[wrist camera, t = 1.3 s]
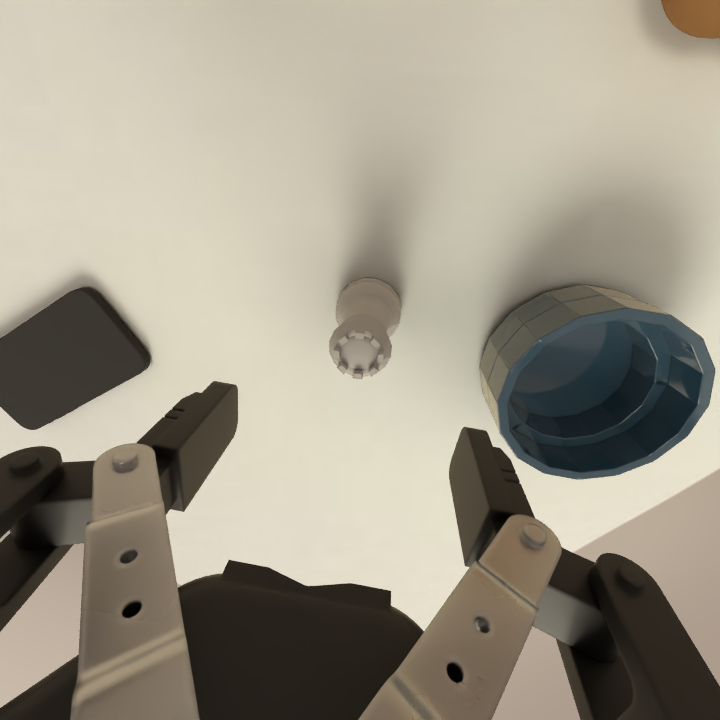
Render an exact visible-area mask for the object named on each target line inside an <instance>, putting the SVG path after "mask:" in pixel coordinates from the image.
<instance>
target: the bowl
mask: <svg viewBox="0 0 720 720" xmlns="http://www.w3.org/2000/svg"><path fill="white" fill-rule="evenodd" d="M480 374H481V382H482V391H483V395H484V397H485V399H486V402H487V404H488V406H489V409H490V411H491V413H492V416H493V418H494V420H495V423H496V425H497V427H498V430H499V432H500V434H501V436H502V437H503V439H504V440H505V441H506V443H507V444H508V446H509V447H510V449H511V450H512V452H513V453H514V455H515V456H516V457H517V458H518V459H520V460H522V461H524V462H525V463H527V464H529V465H530V466H532V467H534V468H536V469H537V470H539V471H541V472H542V473H545V474H550V475H555V476H561V477H566V478H572V479H577V480H578V479H589V478H598V477H607V476H616V475H619V474H622V473H624V472H627V471H630V470H632V469H635V468H637V467H640V466H643V465H645V464H648V463H650V462H653V461H654V460H656V459H658V458H659V457H660V456H662V455H663V454H664V453H666V452H667V451H668V450H670V449H671V448H672V447H674V446H675V445H676V444H678V443H679V442H681V441H682V440H683V439H685V438H686V437H687V436H688V435H689V433H690V432H691V431H692V429H693V428H694V426H695V425H696V423H697V422H698V421H699V419H700V418H701V416H702V415H703V413H704V412H705V410H706V409H707V408H708V406H709V403H710V398H711V392H712V387H713V381H714V376H715V367H714V365H713V362H712V360H711V357H710V355H709V352H708V350H707V347H706V345H705V342H704V340H703V338H702V337H701V336H700V335H698V334H697V333H696V332H694V331H693V330H691V329H690V328H689V327H687V326H686V325H685V324H683V323H682V322H680V321H679V320H678V319H676V318H675V317H673V316H672V315H670V314H668V313H666V312H663V311H661V310H659V309H657V308H655V307H652V306H650V305H648V304H646V303H644V302H642V301H640V300H637V299H635V298H633V297H631V296H629V295H627V294H624V293H622V292H620V291H617V290H612V289H606V288H600V287H595V286H589V285H578V286H573V287H568V288H563V289H558V290H553V291H548V292H545V293H543V294H541V295H539V296H537V297H536V298H534V299H532V300H531V301H529V302H527V303H525V304H524V305H522V306H520V307H519V308H517V309H515V310H513V312H511V313H510V314H509V315H508V316H507V318H506V319H505V320H504V321H503V322H502V323H501V325H500V326H499V327H498V328H497V329H496V330H495V332H494V333H493V334H492V335H491V336H490V338H489V340H488V343H487V346H486V349H485V352H484V354H483V357H482V360H481V363H480Z"/></svg>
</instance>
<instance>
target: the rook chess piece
mask: <svg viewBox="0 0 720 720" xmlns="http://www.w3.org/2000/svg"><path fill="white" fill-rule="evenodd" d="M400 316H401V303H400V300H399V297H398V294H397V293H396V292H395V291H394V290H393V289H392V287H391V286H390V285H389V284H387V283H385V282H383V281H381V280H379V279H373V278H362V279H359V280H356V281H353V282H351V283H350V284H349V285H348V286H347V287H346V288H345V289H343V290H342V292H341V294H340V297H339V299H338V301H337V305H336V319H337V322H338V324H339V327H338V328H337V329H336V330H334V332H333V335H332V337H331V339H330V345H329V352H330V355H331V357H332V359H333V362H334V363H335V364H336V365H337V368H338V369H339V370H340V371H341V372H342V373H343V374H344V373H345V372H346V373H348V374H350V375H352V376H353V378H355V379H362V377H365V376H369V375H370V376H373V375H374V374H376V373H377V372H379V371H380V370H381V369H383V368H384V367H385V366H386V364H387V362H388V361H389V359H390V357H391V348H392V345H391V342H390V339H389V337H390V336H391V335H392V334H393V333H394V332H395V330H396V328H397V326H398V324H399V321H400Z"/></svg>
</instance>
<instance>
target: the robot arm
mask: <svg viewBox="0 0 720 720" xmlns="http://www.w3.org/2000/svg"><path fill="white" fill-rule="evenodd" d="M237 423H238V389H237V386H236V385H233V384H228V383H222V382H217V381H214V382H212V383H211V384H210V385H209V386H208V387H207V388H206V389H205V390H204V391H203V392H202V393H198V392H195V393H193V394H191V395H189V396H187V397H185V398H183V399H181V400H180V401H179V402H178V403H177V404H176V405H175V406H174V407H173V409H172V410H170V411H169V412H168V413H167V414H166V415H165V417H163V418H162V419H161V420H160V421H159V422H157V423H156V424H155V425H154V426H153V427H152V428H151V429H150V430H149V431H148V432H147V433H146V434H145V435H144V436H143V437H142V438H141V439H140V440H139V441H138V442H137V443H132V444H124V445H120V446H117V447H114V448H112V449H110V450H108V451H106V452H104V453H103V454H102V455H101V456H99V457H98V458H97V460H96V461H81V462H62V458H61V454H60V452H59V451H58V450H56V449H54V448H51V447H45V446H39V447H30V448H25V449H22V450H18V451H15V452H13V453H10V454H8V455H6V456H4V457H2V458H1V459H0V538H1V537H2V536H3V535H4V534H5V533H6V532H7V531H9V530H10V532H11V533H10V534H9V535H8V536H7V537H6V538H5V539H4V540H3V541H2V542H1V543H0V631H1V630H2V629H3V628H4V627H5V626H6V624H7V623H8V622H9V621H10V620H11V618H12V617H13V616H14V615H15V614H16V612H17V611H18V610H19V609H20V608H21V606H22V605H23V604H24V603H25V602H26V601H27V599H28V598H29V597H30V596H31V595H32V593H33V592H34V591H35V590H36V589H37V587H38V586H39V585H40V584H41V583H42V582H43V580H44V579H45V578H46V577H47V576H48V574H49V573H50V572H51V571H52V570H53V568H54V567H55V566H56V565H57V564H58V562H59V561H60V560H61V559H62V558H63V556H64V555H65V554H66V553H67V552H68V551H69V549H70V548H71V547H72V546H73V545H74V544H80V543H84V561H83V581H82V601H81V621H80V639H79V655H77V656H76V657H75V658H73V659H72V660H70V661H69V662H67V663H66V664H64V665H63V666H61V667H60V668H58V669H57V670H55V671H54V672H52V673H51V674H49V676H47V677H45V678H44V679H42V680H41V681H39V682H38V683H36V684H35V685H33V686H32V687H30V688H29V689H28V690H26V691H25V692H23V693H22V694H20V695H19V696H17V697H16V698H14V699H13V700H11V701H10V702H9V703H7V704H6V705H4V706H3V707H1V708H0V720H491V719H492V717H493V715H494V712H495V710H496V708H497V706H498V703H499V701H500V699H501V696H502V694H503V692H504V690H505V687H506V685H507V683H508V680H509V678H510V676H511V674H512V671H513V669H514V667H515V664H516V662H517V660H518V657H519V655H520V653H521V651H522V649H523V646H524V644H525V641H526V639H527V637H528V635H529V633H530V630H531V628H532V626H533V627H535V628H537V629H539V630H541V631H543V632H545V633H547V634H549V635H551V636H552V637H554V638H556V640H557V644H558V647H559V650H560V653H561V657H562V660H563V663H564V667H565V670H566V673H567V676H568V680H569V683H570V686H571V690H572V693H573V696H574V700H575V703H576V706H577V709H578V713H579V716H580V719H581V720H720V686H719V685H718V683H717V681H716V680H715V678H714V676H713V675H712V673H711V671H710V670H709V668H708V666H707V665H706V663H705V661H704V660H703V658H702V657H701V655H700V653H699V652H698V650H697V648H696V647H695V645H694V643H693V642H692V640H691V638H690V637H689V635H688V633H687V632H686V630H685V629H684V627H683V625H682V624H681V622H680V620H679V619H678V617H677V615H676V614H675V612H674V611H673V609H672V607H671V605H670V604H669V602H668V601H667V599H666V597H665V596H664V594H663V593H662V591H661V589H660V587H659V586H658V585H657V583H656V582H655V580H654V579H653V578H652V577H651V576H650V575H649V574H648V573H647V572H646V571H645V570H644V569H643V568H641V567H640V566H639V565H637V564H636V563H634V562H633V561H631V560H629V559H627V558H625V557H623V556H620V555H617V554H612V553H605V554H602V555H600V556H599V558H598V559H597V560H596V562H595V563H594V562H592V561H590V560H588V559H585V558H583V557H581V556H579V555H576V554H574V553H572V552H570V551H568V550H566V549H564V548H562V547H561V544H560V542H559V540H558V538H557V536H556V535H555V534H554V533H553V531H552V530H551V529H550V528H548V527H547V526H546V525H545V524H543V523H542V522H540V521H539V520H537V519H535V517H534V514H533V512H532V510H531V507H530V505H529V503H528V500H527V498H526V495H525V493H524V491H523V488H522V486H521V484H519V482H520V481H519V479H518V476H517V474H515V469H514V467H513V465H512V462H511V460H510V459H509V458H508V456H507V455H506V454H505V453H504V452H503V451H502V450H501V449H500V448H496V447H493V446H492V444H491V441H490V438H489V436H488V433H487V431H484V430H478V429H473V428H467V427H464V428H463V429H462V430H461V433H460V436H459V439H458V442H457V445H456V448H455V451H454V453H453V456H452V459H451V463H450V469H449V479H450V485H451V491H452V496H453V502H454V507H455V513H456V518H457V524H458V530H459V535H460V541H461V546H462V552H463V557H464V563H465V566H468V567H470V568H469V569H468V571H467V572H466V574H465V575H464V576H463V578H462V579H461V581H460V582H459V583H458V585H457V586H456V588H455V589H454V590H453V592H452V593H451V595H450V596H449V597H448V599H447V600H446V602H445V603H444V605H443V606H442V607H441V609H440V610H439V612H438V613H437V614H436V616H435V617H434V619H433V620H432V621H431V623H430V624H429V626H428V627H427V628H426V630H425V631H423V630H422V629H421V628H420V627H419V626H418V625H417V624H416V623H415V622H414V621H413V620H412V619H411V618H409V617H408V616H407V615H406V614H404V613H403V612H401V611H399V610H398V609H396V608H394V607H392V606H391V591H388V590H383V589H378V588H373V587H367V586H362V585H357V584H352V583H349V584H335V585H322V586H305V585H303V584H301V583H299V582H297V581H295V580H293V579H291V578H288V577H286V576H284V575H282V574H280V573H278V572H276V571H274V570H272V569H270V568H268V567H263V566H258V565H252V564H247V563H242V562H237V561H232V560H229V561H228V563H227V565H226V567H225V570H224V572H223V574H215V575H210V576H205V577H202V578H199V579H195V580H193V581H191V582H188V583H186V584H184V585H182V586H180V587H178V588H177V582H176V576H175V569H174V563H173V557H172V551H171V545H170V539H169V533H168V527H167V520H166V514H167V513H168V511H169V510H170V509H173V510H178V511H183V512H184V511H185V509H186V508H187V506H188V505H189V503H190V502H191V500H192V499H193V497H194V496H195V494H196V493H197V491H198V490H199V488H200V487H201V485H202V484H203V482H204V481H205V479H206V478H207V476H208V475H209V473H210V472H211V470H212V469H213V467H214V466H215V464H216V463H217V461H218V460H219V458H220V457H221V455H222V454H223V452H224V451H225V449H226V448H227V446H228V445H229V443H230V442H231V440H232V439H233V437H234V435H235V432H236V429H237Z"/></svg>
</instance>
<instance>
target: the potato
mask: <svg viewBox="0 0 720 720" xmlns="http://www.w3.org/2000/svg"><path fill="white" fill-rule="evenodd" d="M661 1H662V5H663V8H664V11H665V13H666V15H667V17H668V18H669V20H670V21H671V23H672V24H673V25H674V26H675V27H677V28H678V29H679V30H681V31H682V32H684V33H686V34H689V35H691V36H695V37H701V38H720V0H661Z"/></svg>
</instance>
